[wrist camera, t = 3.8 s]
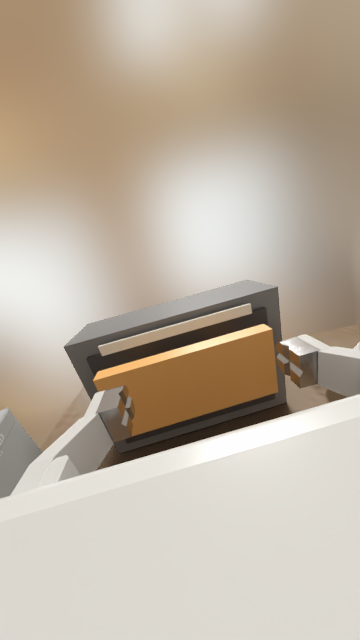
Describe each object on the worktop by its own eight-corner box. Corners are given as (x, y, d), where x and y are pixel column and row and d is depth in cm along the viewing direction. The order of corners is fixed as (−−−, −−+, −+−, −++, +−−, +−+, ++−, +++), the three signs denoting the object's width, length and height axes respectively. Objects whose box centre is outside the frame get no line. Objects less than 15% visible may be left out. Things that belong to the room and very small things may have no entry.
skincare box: (87, 609, 15) (-34, 488, 10) (-23, 704, 13) (-261, 609, 7) (86, 500, 23) (17, 399, 17) (17, 547, 20) (-88, 444, 15)
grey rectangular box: (291, 407, 27) (283, 287, 21) (117, 460, 26) (59, 350, 20) (259, 372, 36) (246, 279, 30) (126, 411, 35) (87, 324, 29)
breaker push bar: (278, 392, 19) (272, 328, 16) (121, 439, 18) (92, 380, 16) (262, 374, 21) (255, 318, 19) (126, 415, 21) (102, 362, 19)
